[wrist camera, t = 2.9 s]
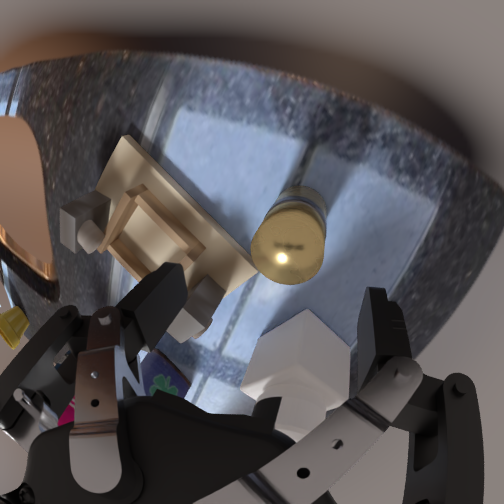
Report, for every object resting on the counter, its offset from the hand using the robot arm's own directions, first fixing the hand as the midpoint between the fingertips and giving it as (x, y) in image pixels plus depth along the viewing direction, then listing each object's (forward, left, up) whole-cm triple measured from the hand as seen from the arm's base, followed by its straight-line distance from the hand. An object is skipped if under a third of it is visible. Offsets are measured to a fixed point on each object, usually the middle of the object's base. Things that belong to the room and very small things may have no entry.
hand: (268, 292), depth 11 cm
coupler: (0, 0, -11) cm, 11 cm away
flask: (-6, +30, -11) cm, 33 cm away
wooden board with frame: (+7, +12, -11) cm, 17 cm away
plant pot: (+28, +74, -11) cm, 80 cm away
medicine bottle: (-11, +9, -11) cm, 18 cm away
